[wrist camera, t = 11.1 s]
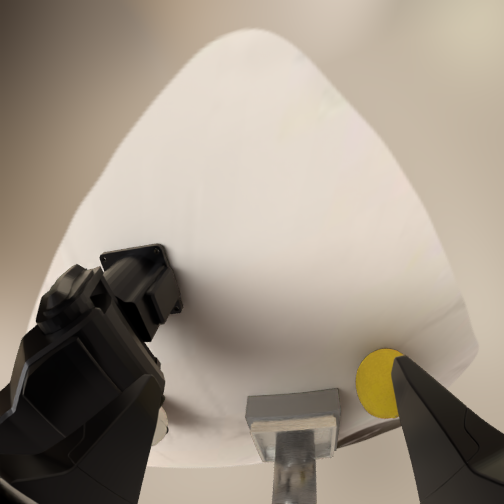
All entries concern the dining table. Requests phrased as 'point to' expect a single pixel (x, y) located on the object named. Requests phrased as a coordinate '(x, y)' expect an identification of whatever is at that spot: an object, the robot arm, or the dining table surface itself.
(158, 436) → the white egg
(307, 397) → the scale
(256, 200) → the dining table surface
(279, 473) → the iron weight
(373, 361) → the lemon
